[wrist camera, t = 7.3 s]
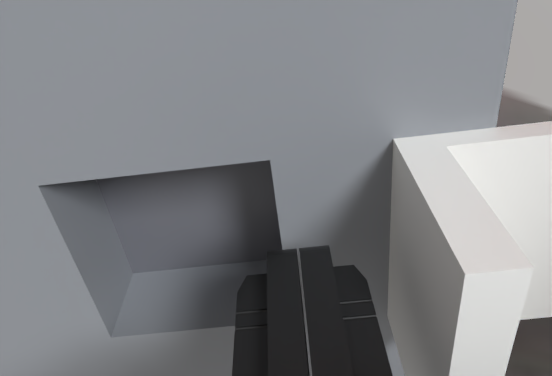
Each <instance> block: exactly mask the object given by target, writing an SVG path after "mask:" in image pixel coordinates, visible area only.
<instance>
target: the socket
mask: <svg viewBox="0 0 552 376" xmlns="http://www.w3.org/2000/svg"><path fill="white" fill-rule="evenodd" d="M517 2H518V0H0V376H232V366H233V350H234V334H235V318H236V303H237V292H238V290H239V288H240V287H241V285H242V283H243V281H244V280H245V278H246V276H247V275H255V274H265V273H267V251H276V250H286V249H296V248H297V257H298V266H299V275H300V284H301V293H302V302H303V312H304V322H305V332H306V342H307V353H308V363H309V373H310V376H312V368H311V358H310V349H309V339H308V329H307V320H306V310H305V300H304V291H303V281H302V271H301V261H300V252H299V248H304V247H314V246H324V245H329V247H330V252H331V258H332V263H333V267H335V266H345V265H354V266H355V267H356V268H357V269H358V270H359V271H360V272H361V274H362V275H363V276H364V277H365V278H366V279H367V282H368V286H369V289H370V293H371V297H372V302H373V304H374V308H375V312H376V317H377V319H378V323H379V326H380V330H381V334H382V338H383V341H384V345H385V349H386V352H387V356H388V360H389V363H390V367H391V371H392V375H393V376H405V374H404V370H403V367H402V364H401V360H400V357H399V354H398V350H397V347H396V343H395V340H394V337H393V333H392V330H391V326H390V323H389V320H388V316H387V311H388V281H389V250H390V220H391V189H392V159H393V139H396V138H405V137H414V136H423V135H432V134H441V133H450V132H459V131H468V130H477V129H486V128H495V127H496V125H497V119H498V113H499V107H500V102H501V96H502V90H503V84H504V78H505V72H506V66H507V60H508V54H509V49H510V42H511V37H512V31H513V25H514V19H515V13H516V7H517Z"/></svg>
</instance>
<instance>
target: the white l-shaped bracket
mask: <svg viewBox="0 0 552 376" xmlns="http://www.w3.org/2000/svg"><path fill="white" fill-rule="evenodd" d="M387 316H388V320H389V323H390V326H391V330H392V333H393V337H394V340H395V343H396V347H397V350H398V354H399V357H400V360H401V364H402V367H403V370H404V374H405V376H505V373H506V369H507V365H508V362H509V358H510V354H511V351H512V347H513V343H514V340H515V336H516V332H517V329H518V325H519V321H520V320H524V319H535V318H545V317H552V121H548V122H539V123H530V124H521V125H512V126H504V127H495V128H486V129H477V130H468V131H459V132H450V133H441V134H432V135H423V136H414V137H405V138H396V139H393V159H392V189H391V220H390V250H389V281H388V311H387Z"/></svg>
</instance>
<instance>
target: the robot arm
mask: <svg viewBox="0 0 552 376" xmlns="http://www.w3.org/2000/svg"><path fill="white" fill-rule="evenodd" d="M299 252H300V261H301V271H302V281H303V291H304V300H305V310H306V320H307V329H308V339H309V349H310V358H311V368H312V376H393V375H392V371H391V367H390V363H389V360H388V356H387V352H386V349H385V345H384V341H383V338H382V334H381V330H380V326H379V323H378V319H377V317H376V312H375V308H374V304H373V302H372V297H371V293H370V289H369V286H368V282H367V279H366V278H365V277H364V276H363V275H362V274H361V272H360V271H359V270H358V269H357V268H356V267H355V266H354V265H345V266H335V267H333V263H332V258H331V252H330V247H329V245H324V246H314V247H304V248H299ZM232 376H310V373H309V363H308V353H307V342H306V332H305V322H304V312H303V302H302V293H301V284H300V275H299V266H298V257H297V248H296V249H286V250H276V251H267V273H265V274H255V275H247V276H246V278H245V280H244V281H243V283H242V285H241V287H240V288H239V290H238V292H237V303H236V318H235V334H234V350H233V366H232Z"/></svg>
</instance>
